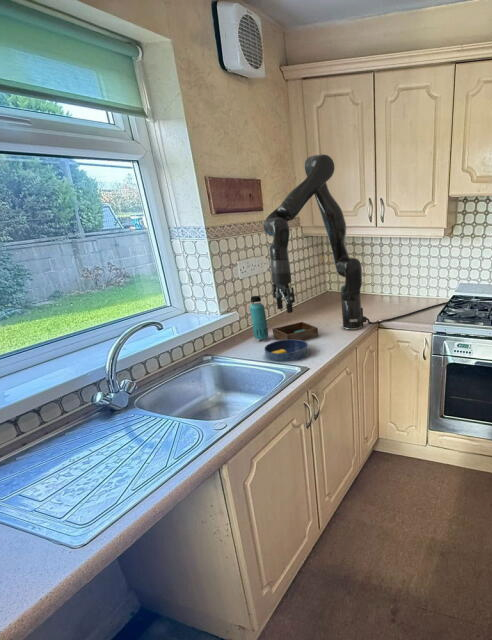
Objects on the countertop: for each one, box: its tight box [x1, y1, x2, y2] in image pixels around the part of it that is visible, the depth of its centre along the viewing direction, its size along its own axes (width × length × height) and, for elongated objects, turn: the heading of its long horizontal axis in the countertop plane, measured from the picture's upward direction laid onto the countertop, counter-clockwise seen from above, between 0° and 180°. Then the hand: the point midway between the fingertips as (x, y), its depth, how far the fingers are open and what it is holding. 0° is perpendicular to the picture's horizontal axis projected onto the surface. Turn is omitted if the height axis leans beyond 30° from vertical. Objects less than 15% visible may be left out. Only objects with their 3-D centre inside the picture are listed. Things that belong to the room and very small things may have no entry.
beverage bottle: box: [249, 295, 269, 340], centre depth 180 cm, size 6×7×20 cm
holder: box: [272, 321, 319, 341], centre depth 186 cm, size 16×14×5 cm
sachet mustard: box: [272, 349, 287, 353], centre depth 164 cm, size 5×4×2 cm
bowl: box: [264, 339, 310, 363], centre depth 166 cm, size 17×17×4 cm
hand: (285, 310), depth 169 cm, fingers open, 8 cm apart
